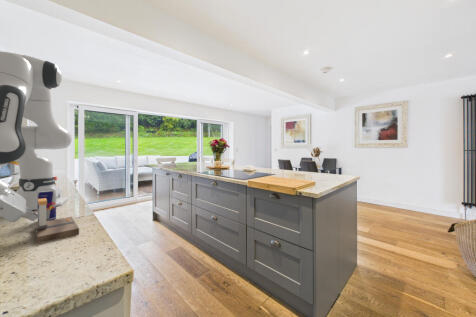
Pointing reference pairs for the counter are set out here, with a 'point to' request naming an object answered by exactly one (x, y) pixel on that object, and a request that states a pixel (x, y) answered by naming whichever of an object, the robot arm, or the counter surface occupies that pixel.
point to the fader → (42, 213)
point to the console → (57, 229)
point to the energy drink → (48, 203)
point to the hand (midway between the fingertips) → (36, 218)
